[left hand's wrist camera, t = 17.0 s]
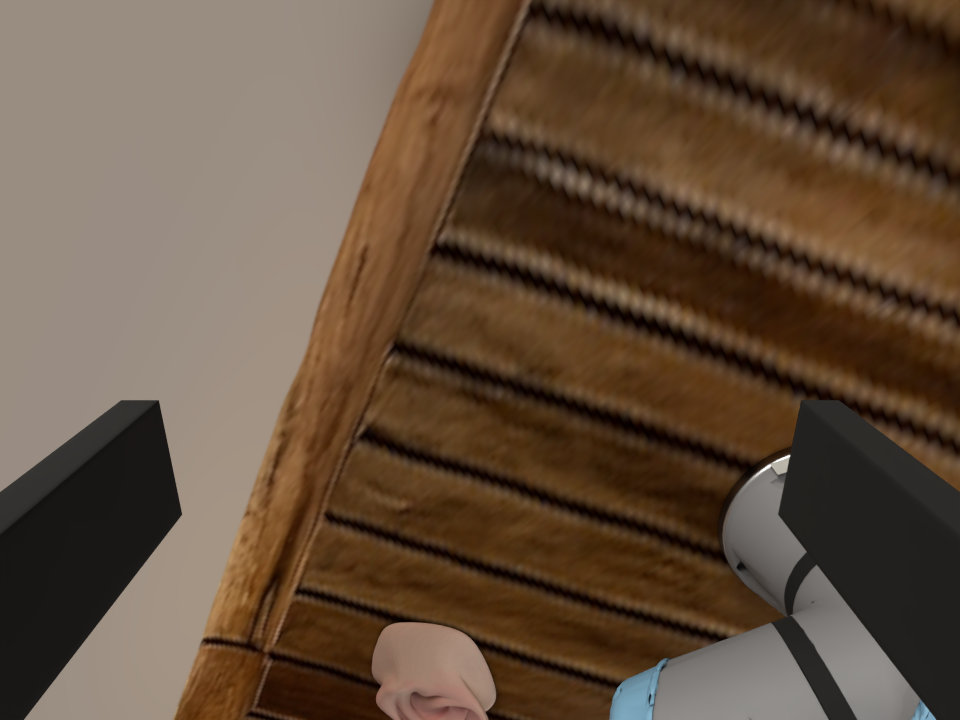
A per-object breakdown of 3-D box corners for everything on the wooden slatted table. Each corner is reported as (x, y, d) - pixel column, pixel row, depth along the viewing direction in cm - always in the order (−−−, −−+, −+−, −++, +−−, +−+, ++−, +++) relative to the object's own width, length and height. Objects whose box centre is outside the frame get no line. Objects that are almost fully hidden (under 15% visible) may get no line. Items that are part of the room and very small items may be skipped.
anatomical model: (351, 661, 54) (479, 645, 53) (359, 626, 58) (480, 611, 57) (383, 765, 58) (501, 751, 58) (388, 727, 62) (500, 714, 62)
